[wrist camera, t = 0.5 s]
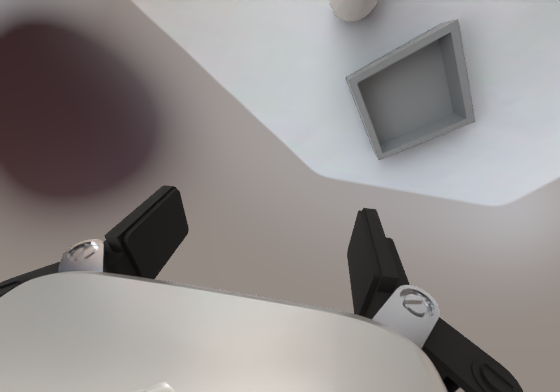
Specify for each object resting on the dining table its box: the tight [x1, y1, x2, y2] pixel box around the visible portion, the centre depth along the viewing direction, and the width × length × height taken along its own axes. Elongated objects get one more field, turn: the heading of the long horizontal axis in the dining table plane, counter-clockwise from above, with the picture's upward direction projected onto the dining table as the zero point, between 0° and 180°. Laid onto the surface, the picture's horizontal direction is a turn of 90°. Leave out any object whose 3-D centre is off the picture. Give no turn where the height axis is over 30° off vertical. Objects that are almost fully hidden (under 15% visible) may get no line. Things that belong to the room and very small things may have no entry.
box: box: [346, 19, 475, 160], centre depth 31 cm, size 12×12×4 cm
